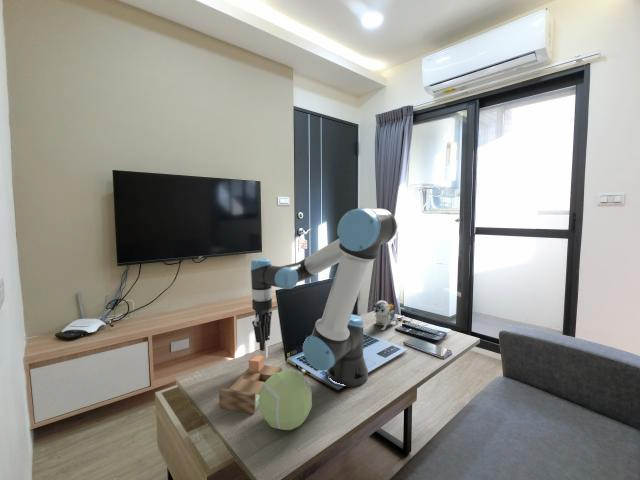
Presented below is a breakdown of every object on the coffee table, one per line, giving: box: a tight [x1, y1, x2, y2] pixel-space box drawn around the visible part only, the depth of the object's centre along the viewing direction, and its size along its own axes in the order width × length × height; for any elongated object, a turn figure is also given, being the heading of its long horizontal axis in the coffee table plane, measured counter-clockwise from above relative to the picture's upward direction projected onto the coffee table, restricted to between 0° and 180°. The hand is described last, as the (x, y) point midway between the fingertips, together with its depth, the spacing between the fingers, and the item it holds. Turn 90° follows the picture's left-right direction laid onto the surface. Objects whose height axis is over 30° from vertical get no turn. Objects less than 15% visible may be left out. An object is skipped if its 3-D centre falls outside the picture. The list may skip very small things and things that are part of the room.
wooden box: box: [218, 364, 283, 415], centre depth 106 cm, size 12×22×6 cm, turn 165°
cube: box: [248, 354, 265, 372], centre depth 114 cm, size 4×4×4 cm
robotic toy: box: [372, 300, 399, 331], centre depth 160 cm, size 13×17×15 cm
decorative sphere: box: [258, 369, 313, 431], centre depth 89 cm, size 15×15×15 cm
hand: (263, 356), depth 121 cm, fingers closed
